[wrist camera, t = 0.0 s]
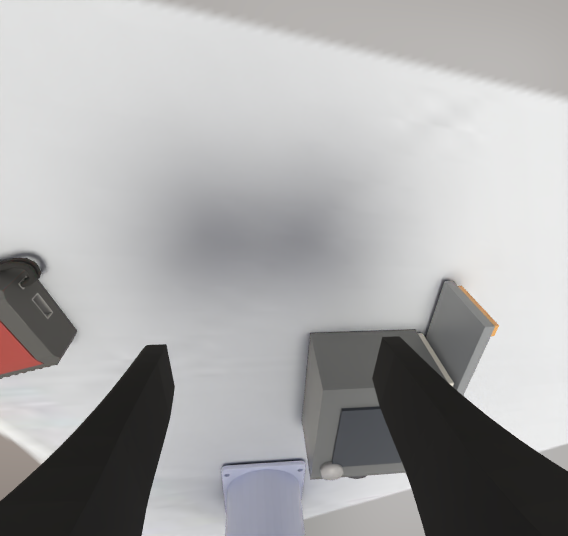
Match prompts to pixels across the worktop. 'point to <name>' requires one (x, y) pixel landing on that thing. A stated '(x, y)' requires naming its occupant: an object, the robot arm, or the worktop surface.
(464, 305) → the side door
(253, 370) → the worktop surface
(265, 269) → the worktop surface
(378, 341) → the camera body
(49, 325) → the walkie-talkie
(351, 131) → the worktop surface
